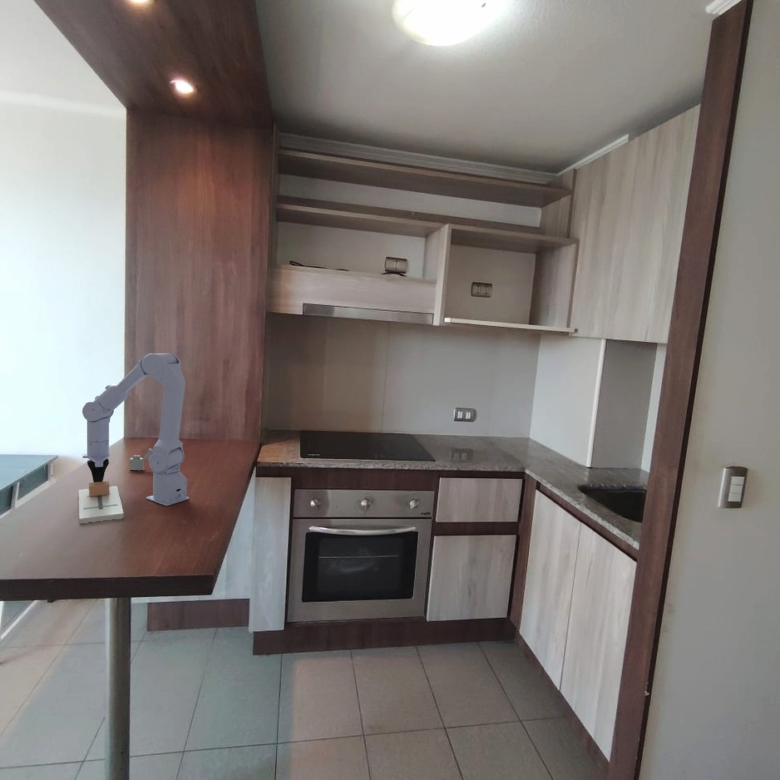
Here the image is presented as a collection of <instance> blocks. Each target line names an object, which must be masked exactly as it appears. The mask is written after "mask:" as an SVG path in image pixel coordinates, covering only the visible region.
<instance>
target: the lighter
mask: <svg viewBox="0 0 780 780" xmlns="http://www.w3.org/2000/svg"><path fill="white" fill-rule="evenodd" d="M152 452H153V448H150V447H148V449H147V451H146V452H145V454H144V456H143V457H141V455H137V454H136V455H132V457H130V458H129V471H130V470H143V471H144V465H145V464H144V461H147V460H149V457H150V455H151V454H152Z"/></svg>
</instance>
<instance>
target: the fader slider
mask: <svg viewBox="0 0 780 780" xmlns="http://www.w3.org/2000/svg"><path fill="white" fill-rule="evenodd" d="M109 487H110V481H109V480H108V481H103V482H88V489H89V496H96V495H105V494H109Z"/></svg>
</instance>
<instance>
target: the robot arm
mask: <svg viewBox="0 0 780 780" xmlns="http://www.w3.org/2000/svg"><path fill="white" fill-rule="evenodd" d="M137 361H138V362H137V364H136V365H134V367H133V368H132V369H131V370H130V371H129V372H128V373H127V374H126V376H125V377H123V378H122V380H121V381H119V383H112V384H109V385H106V386H105V388H104V391H103V392H102V393H100V394H99V395H96V396H95V397H94V401H89V402H85V404H84V405H83V407H82V411H81V413H82V417H84V419H85V420H86V454H82V459H88V460H87V461H86V462H87V464H86V465H87V466H88V468H89V471H90V472H91V476H92V481H93V482H92V483H94V482H104V478H105V473H106V471H107V468H108V466H109V465H110V459H109V458H110V456H111V455H110V423H111V417H112V416H113V415H114V411H115V410H116V409H117V408H118V407H119V406H120V405H121V404H122V403H123V402H124V401H126V400H127V399H128V396H129V394H128V392H129V391H130V390H132V389H133V388H134V387H136V386H137V385H138V384H139V383H140V382H141V381H142V380H143V381H144V379H145V378H147V377H151V378H153V379H155V380H156V381H157V382H159V383H160V384H161V385H162V386H163V387H164V388H163V389H164V390H163V397H162V399H163V400H162V406H161V407H162V408H161V414H160V415H161V416H160V423H159V424H160V425H159V434H158V440H157V441H156V443H155V444H154V445H153V447H152V449H153V450H152V452H151V454H150V456H149V457H148V466H149V467H150V469H151V470H152V473H153V477H152V481H153V482H152V495H149V496H146V500H149V501H151V502H155V503H157V504H160V505H163V506H166V507H168V506H171V505H174V504H177V503H181V502H184V501H187V500H189V499H190V497H189V496H187V494H188V492H187V491H188V479H187V477H186V476H185V475H184V474H183V473H182V472H181V470H180V469H181V464H182V463H183V462H184V460H185V452H184V448H183V445H184V443H183V442H182V441H181V440H180V433H181V432H180V430H181V425H182V423H181V422H182V415H183V407H184V399H185V390H186V379H185V376H184V373H183V370H182V361H181V359H179V358H178V357H177V355H176V354H175V353H172V352H163V353H161V352H160V353H152V352H151V353H147V354H146V355H144V356H143V357H142V358H141V359H139V360H137Z"/></svg>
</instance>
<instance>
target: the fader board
mask: <svg viewBox="0 0 780 780" xmlns="http://www.w3.org/2000/svg"><path fill="white" fill-rule="evenodd" d="M124 514H125V513H124V510H123V505H122V501H121V498H120V493H119V489H118V486H117V485H113V486H109V494H105V495H96V496H89V488H83V489H78V515H79V516H78V521H79V522H78V523H86V522H93V523H96V522H95V521H101V522H104V521H103V520H109V521H113V520H112V519H116V520H123V519H124ZM122 518H123V519H122ZM86 524H87V523H86Z"/></svg>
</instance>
